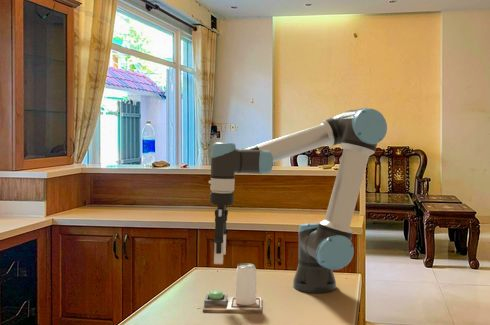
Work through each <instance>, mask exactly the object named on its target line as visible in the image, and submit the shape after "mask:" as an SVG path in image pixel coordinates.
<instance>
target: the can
mask: <svg viewBox="0 0 490 325" xmlns="http://www.w3.org/2000/svg"><path fill="white" fill-rule="evenodd" d="M236 266H237V268H236V270H235V297H236V303H237V304H238V305H242V306H250V305H254V304H255V303H256V297H257V268H256V265H255V264H253V263H250V262H249V263H248V262H247V263H245V262H244V263H238V264H237V265H236Z"/></svg>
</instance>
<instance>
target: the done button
mask: <svg viewBox="0 0 490 325" xmlns="http://www.w3.org/2000/svg"><path fill="white" fill-rule="evenodd" d="M208 294H209V300H223V294H224V292H223V291H221V290H211V291H209V292H208Z"/></svg>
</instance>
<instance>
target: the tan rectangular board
mask: <svg viewBox="0 0 490 325" xmlns="http://www.w3.org/2000/svg"><path fill="white" fill-rule="evenodd" d="M262 299H263V297H261V296H259V297H257V296H256V303H255V304H254V305H250V306H242V305H238V304H237V303H236V296H228V294H227V293H226V294H224V293H223V300H209V293H207V294H206V295H205V297H204V299H203V300H204V301H203V302H204V303H203V307H202V313H230V314H231V313H238V314H247V313H248V314H262V313H263V312H262V311H263V309H262V308H263V306H262V305H263V302H262V301H263V300H262Z"/></svg>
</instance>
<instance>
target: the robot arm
mask: <svg viewBox="0 0 490 325" xmlns="http://www.w3.org/2000/svg"><path fill="white" fill-rule="evenodd" d="M387 132H388V123H387V120H386V118H385V117H384V115H383V113H381V112H380V111H379V110H377V109H374V108H368V107H363V108H358V109H349V110H346V111H344V112H341V113H339V114H337V115H335V116H333V117H329V118H327V119H323V120H322V121H321V123H320V124H318V125H315V126H312V127H311V126H310V127H308V128H306V129H303V130H299V131H296V132H292V133H289V134H286V135H284V136H280V137H278V138H274V139H271V140H268V141H264V142H262V143H259V144H256V145H253V146H250V147H246V148H238V149H237V147H236V144H235V143H234V142H214V143H213V144H212V145H211V146H212V147H211V153H210V154H211V155H210V180H208V185H209V184H210V187H209V188H210V191H211V192H210V193H209V204H211V205H213V206H217V207H216V208H217V209H215V210H214V223H215V227H214V239H211V240H212V241H211V243H214V247H213V248H214V250H213V265H224V255H227V254H226V253H227V251H226V247H227V235H228V234H229V230H227V221H228V215H229V210H228V209H227V208H228V206H231V205H234V202H235V193H234V191H235V182H236V181H235V179H236V178H235V175H236V174H255V175H257V174H259V175H262V174H265V175H266V174H270V173H271V172H272V171H273V166H274V163H275V162H279V161H282V160H284V159H287V158H290V157H293V156H298V155H300V154H303V153H307V152H309V151H312V150H316V149H319V148H321V147H325V146H328V147H334V146H337V145H340V146H341V148H342V149H343V150H342V154H341V158H340V160H339V165H338V169H337V172H336V176H335V179H334V183H333V187H332V191H331V195H330V199H329V202H328V206H327V208H326V213H325V217H324V219H323V220H321V221H319V222H313V223H312V222H309V223H307V222H306V223H301V224H299V226H298V227H299V228H298V233H297V234H298V266H297V268H296V272H295V275H294V278H293V284H292V286H293V288H294V289H296V290H298V291H301V292H305V293H314V294H320V293H321V294H322V293H323V294H324V293H329V292H333V291H336V288H337V282H336V281H337V280H336V277H335V274H334V271H337V270H341V269H343V268H345V267H347V266H348V265H349V264H350V263H351V261H352V260H353V257H354V252H355V250H354V245H353V243H352V238H353V234H354V231H353V229H352V227H351V224H352V220H353V216H354V213H355V209H356V205H357V202H358V198H359V194H360V190H361V187H362V183H363V180H364V177H365V176H364V175H365V173H366V168H367V165H368V161H369V157H370V156H372V155H374V154H375V152H376V149H377V146H378V144H379V143H380V142H381V141H383V139H384V138H385V137H386V135H387Z"/></svg>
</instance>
